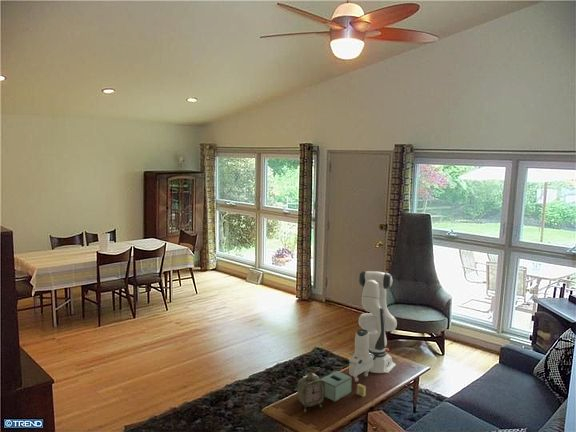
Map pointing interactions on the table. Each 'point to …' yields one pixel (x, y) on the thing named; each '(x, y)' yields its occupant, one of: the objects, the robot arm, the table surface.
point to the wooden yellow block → (361, 390)
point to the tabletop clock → (311, 390)
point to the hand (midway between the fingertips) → (361, 378)
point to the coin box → (337, 385)
